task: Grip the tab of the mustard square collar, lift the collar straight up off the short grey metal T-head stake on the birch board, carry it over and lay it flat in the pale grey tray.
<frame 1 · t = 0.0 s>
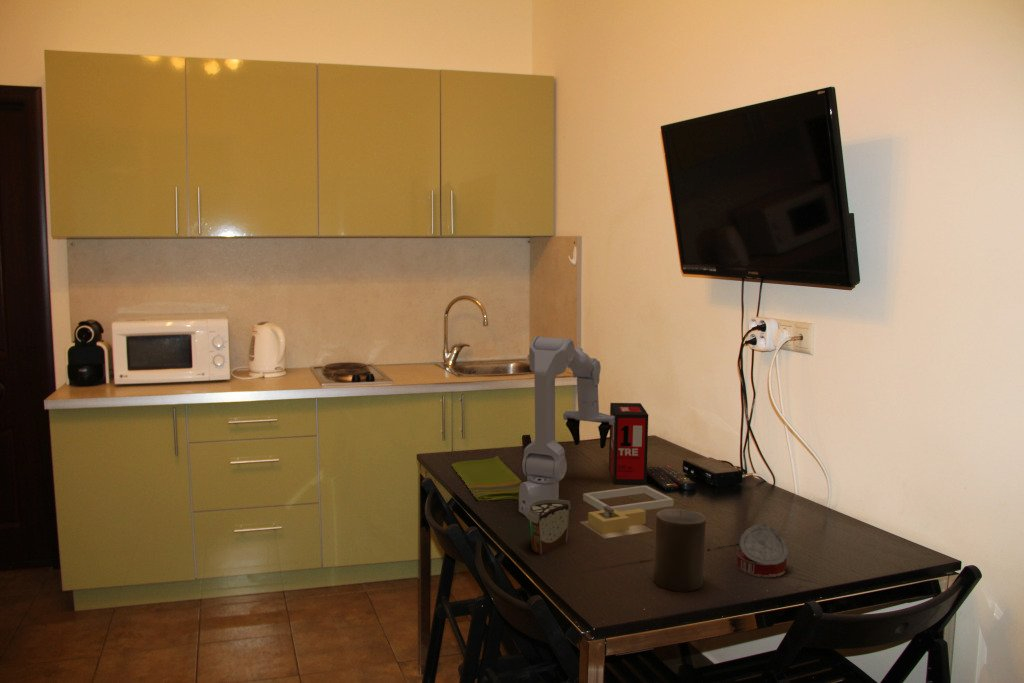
hand: (590, 445, 233), 11 cm above the table, tool pointing down, fingers open, 7 cm apart
dish towel: (489, 483, 235), on the table
canned food: (761, 570, 174), on the table
pillar candle: (678, 582, 166), on the table
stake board: (615, 529, 196), on the table
food container: (542, 549, 184), on the table
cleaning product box: (627, 477, 240), on the table
tray: (627, 505, 214), on the table
tabbed collar: (608, 527, 195), point 1 cm above the table, touching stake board
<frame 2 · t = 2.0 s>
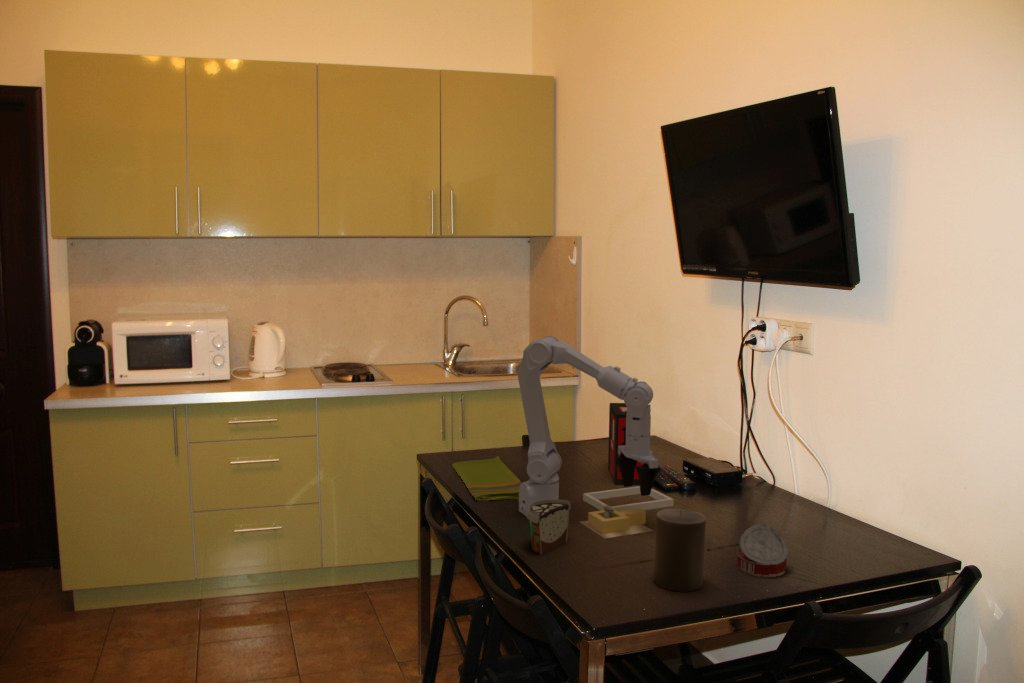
hand: (636, 490, 197), 9 cm above the table, tool pointing down, fingers open, 7 cm apart
nothing on the table moved.
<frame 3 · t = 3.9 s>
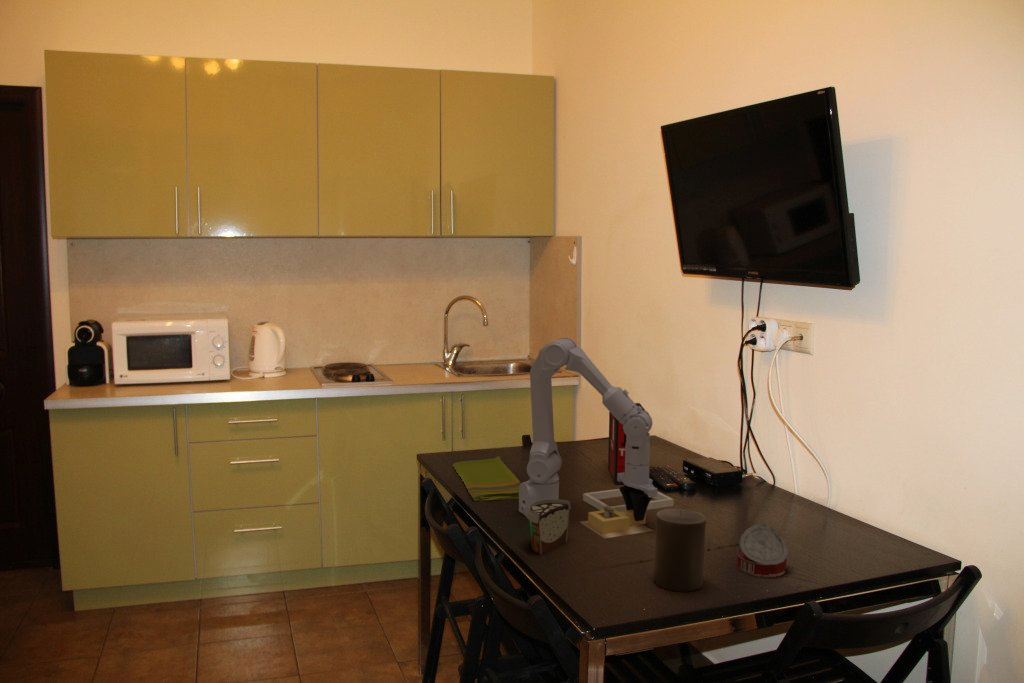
hand: (635, 518, 198), 2 cm above the table, tool pointing down, fingers closed on tabbed collar, 2 cm apart
tabbed collar: (608, 527, 195), point 1 cm above the table, touching gripper, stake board
everything else where it was.
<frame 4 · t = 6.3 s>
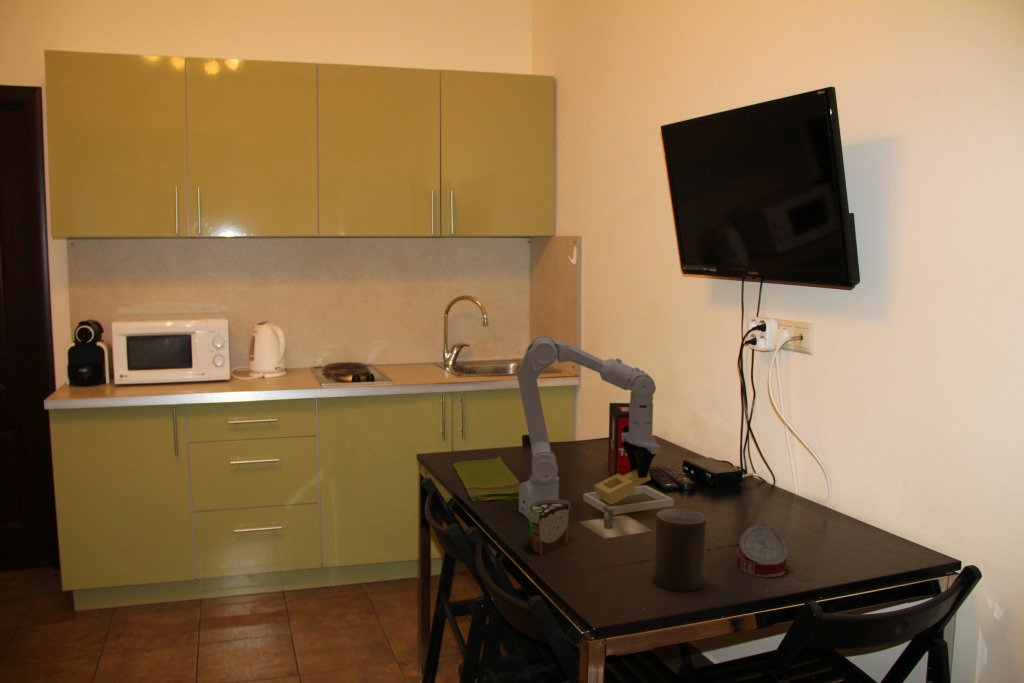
hand: (639, 475, 205), 10 cm above the table, tool pointing down, fingers closed on tabbed collar, 2 cm apart
tabbed collar: (616, 494, 203), point 6 cm above the table, tilted 19°, touching gripper
everything else where it was.
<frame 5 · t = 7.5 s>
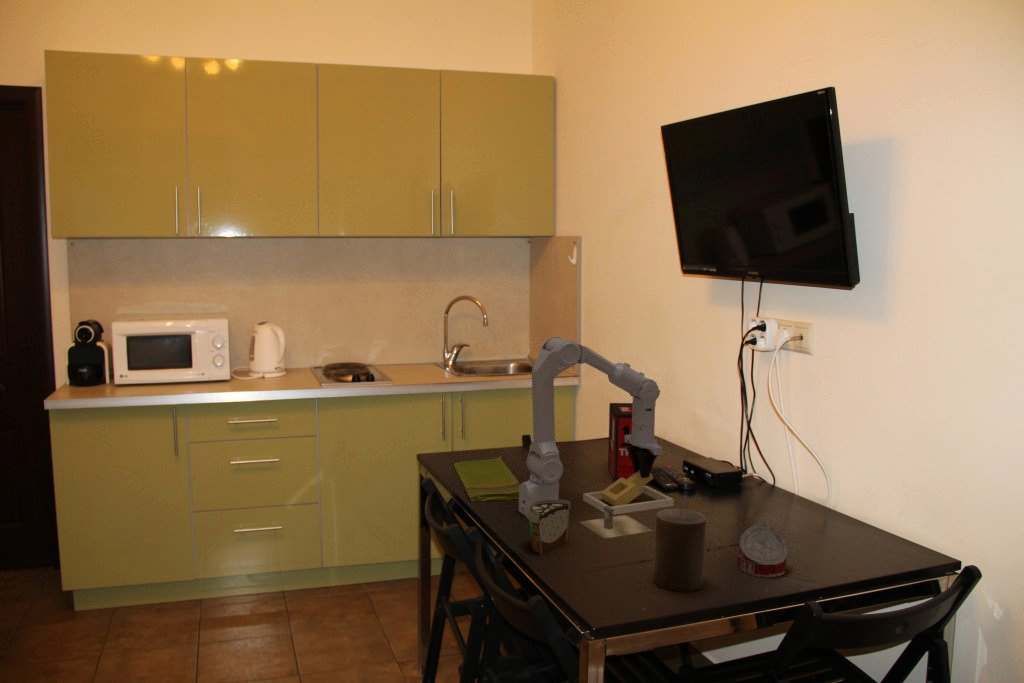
hand: (641, 475, 214), 7 cm above the table, tool pointing down, fingers closed on tabbed collar, 2 cm apart
tabbed collar: (622, 497, 213), point 2 cm above the table, tilted 28°, touching gripper
everything else where it was.
when the fingers open (4 cm above the table, at t = 8.8 s): tabbed collar stays where it is, resting on tray.
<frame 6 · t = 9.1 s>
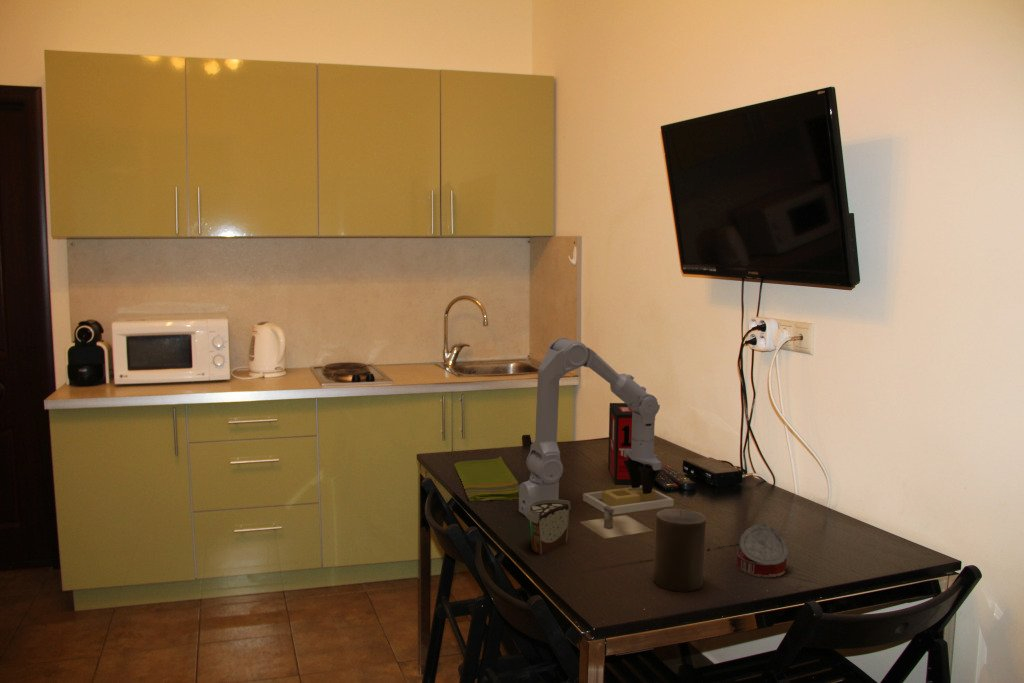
hand: (641, 490, 215), 4 cm above the table, tool pointing down, fingers open, 5 cm apart
tabbed collar: (620, 504, 213), point 1 cm above the table, touching tray
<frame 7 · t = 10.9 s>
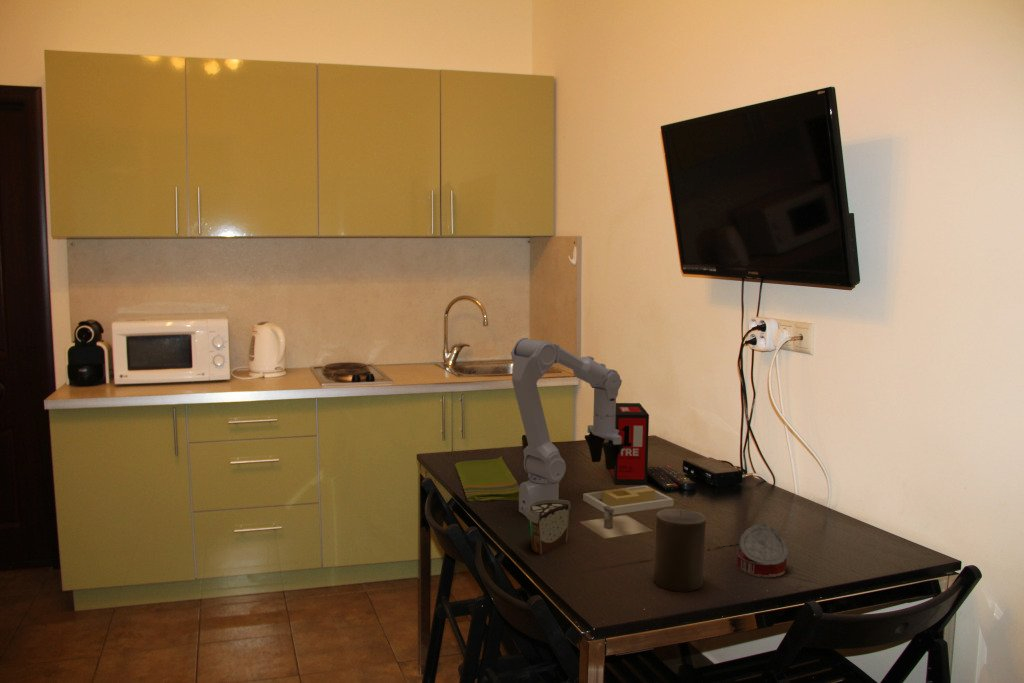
hand: (603, 465, 217), 9 cm above the table, tool pointing down, fingers open, 7 cm apart
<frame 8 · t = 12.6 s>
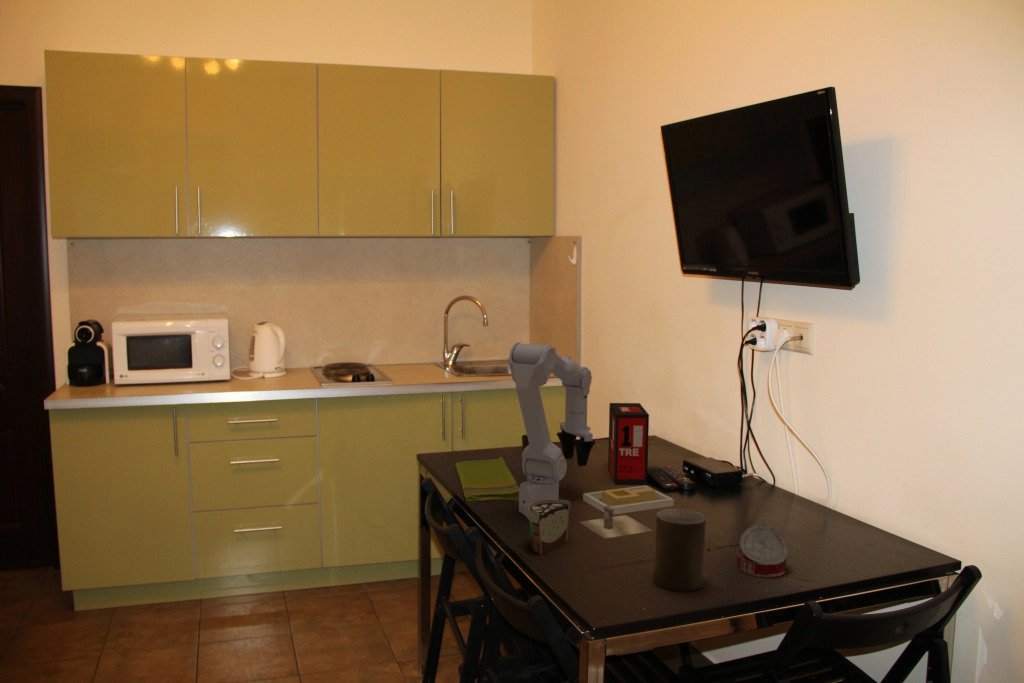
hand: (575, 462, 220), 9 cm above the table, tool pointing down, fingers open, 7 cm apart
at the end: tabbed collar inside the target area on the tray (0.9 cm from its centre), point 0.6 cm above the tray's base; tabbed collar tilted 0°; the gripper is holding nothing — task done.
